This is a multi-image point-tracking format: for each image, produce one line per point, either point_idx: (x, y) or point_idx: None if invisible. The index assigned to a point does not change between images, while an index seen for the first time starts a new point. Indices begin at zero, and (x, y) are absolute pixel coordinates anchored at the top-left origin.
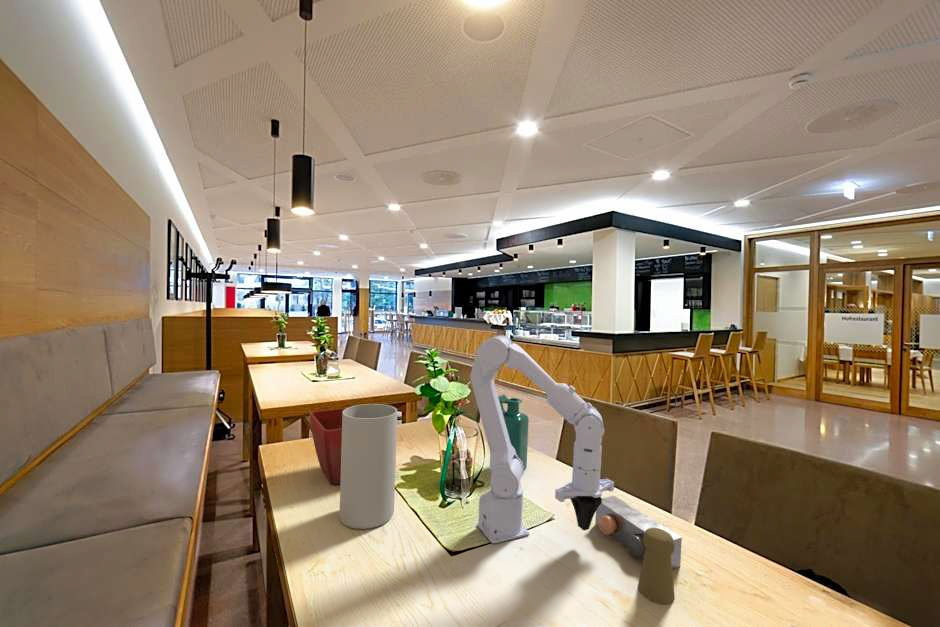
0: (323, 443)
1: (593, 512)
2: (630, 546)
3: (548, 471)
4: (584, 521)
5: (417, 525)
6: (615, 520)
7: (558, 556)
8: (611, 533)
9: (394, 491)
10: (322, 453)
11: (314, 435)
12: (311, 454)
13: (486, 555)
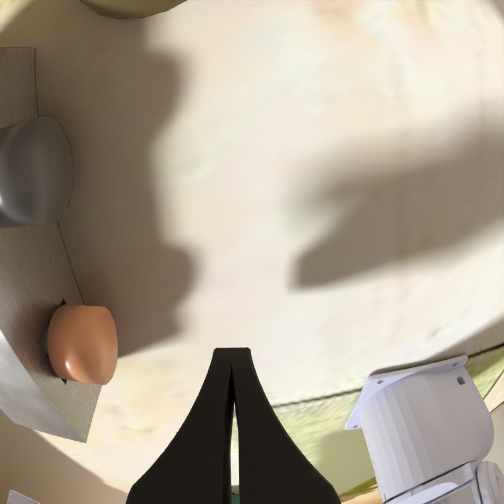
0: None
1: (197, 431)
2: (56, 180)
3: (133, 478)
4: (262, 389)
5: (488, 399)
6: (43, 345)
7: (379, 276)
8: None
9: (499, 444)
10: None
11: None
12: None
13: (499, 324)
